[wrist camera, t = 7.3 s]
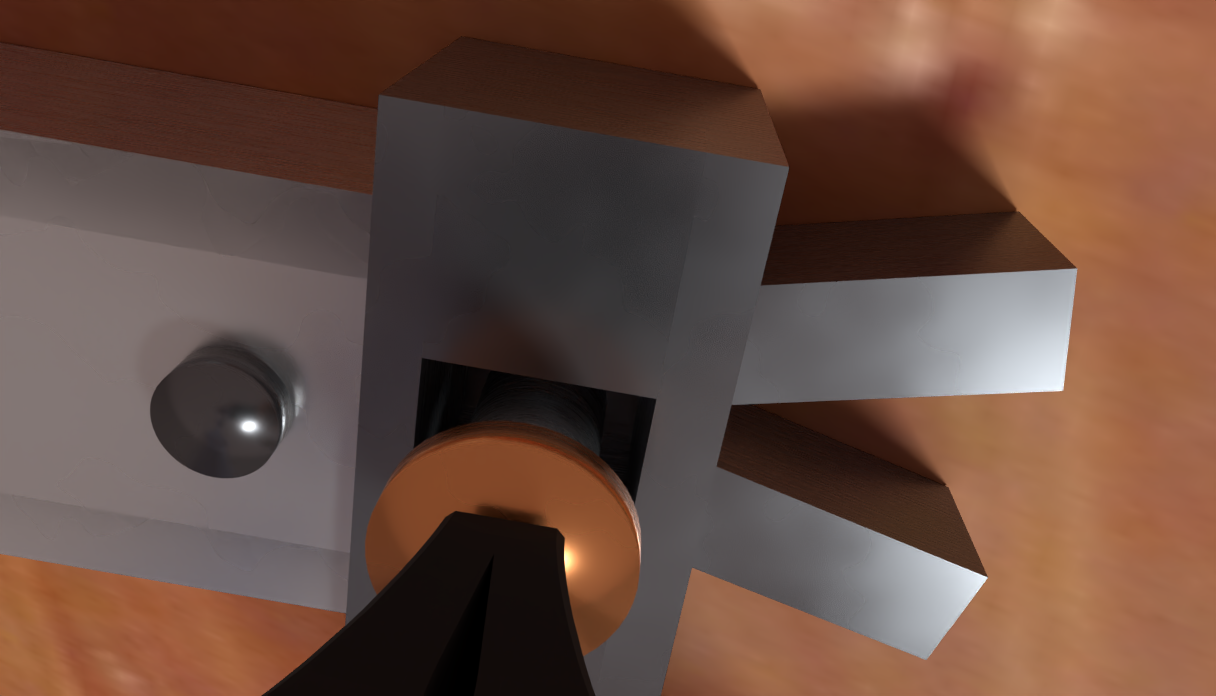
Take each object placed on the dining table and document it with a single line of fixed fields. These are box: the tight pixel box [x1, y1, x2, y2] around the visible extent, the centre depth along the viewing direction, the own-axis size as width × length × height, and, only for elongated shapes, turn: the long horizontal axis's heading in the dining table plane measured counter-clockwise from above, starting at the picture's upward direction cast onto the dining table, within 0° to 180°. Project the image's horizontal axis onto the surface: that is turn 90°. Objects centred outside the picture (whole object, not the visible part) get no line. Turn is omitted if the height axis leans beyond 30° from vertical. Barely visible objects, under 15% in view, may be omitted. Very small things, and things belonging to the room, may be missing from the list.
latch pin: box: [365, 370, 641, 656], centre depth 14 cm, size 3×3×4 cm
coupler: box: [345, 37, 1077, 696], centre depth 16 cm, size 15×10×5 cm
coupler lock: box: [0, 42, 378, 613], centre depth 16 cm, size 8×7×5 cm
